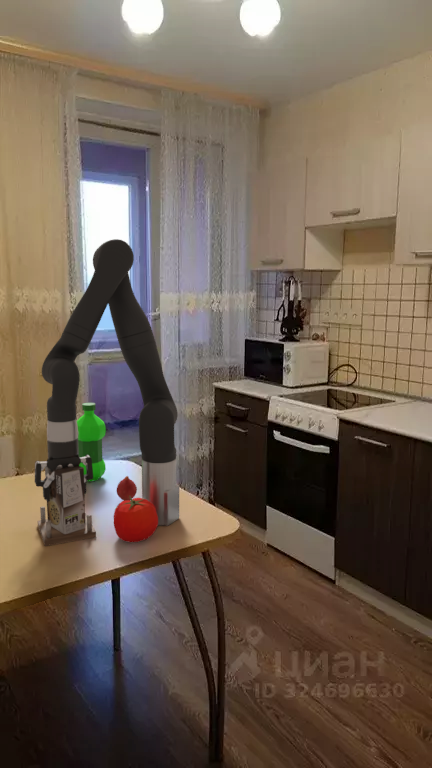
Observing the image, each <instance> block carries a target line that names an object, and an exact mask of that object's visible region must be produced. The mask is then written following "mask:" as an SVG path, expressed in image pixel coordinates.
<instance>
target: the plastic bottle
mask: <svg viewBox="0 0 432 768" xmlns="http://www.w3.org/2000/svg"><path fill="white" fill-rule="evenodd" d="M81 405H82V406H81V408H82V411H83V413H84V414H82V416H80V417H79V418H78V419H77V426H78V449H79V457H85V456H86V455H89V456H90V457H91V459H92V468H93V479H91V480H88V481H87V482H95V481H96V482H97V481H98V480H99V479H100V478H101V477H102V476H103V475H104V474H105V473H106V470H107V469H106V462H105V460H104V459H103V438H104V437H105V436H106V432H107V430H106V424H105V421H104V420H103V419H101V418H100V417H99V416H97V415H96V414H95V411H96V410H97V409H96V403H95V402H84V403H82V404H81ZM79 466H80V467H83V468H84V475H86V474H87V473H86V465H84V464H83V462H81V463H80V465H79Z"/></svg>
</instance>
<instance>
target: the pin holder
mask: <svg viewBox="0 0 432 768" xmlns="http://www.w3.org/2000/svg"><path fill="white" fill-rule="evenodd" d="M92 516H93V515H92V514H86V512H85V524H86V528H85V529H81V530H78V531H75V532H71V533H68V534H63V533H61V532H60V531H58V530H56V529H55V528H53V527H52V526H51V521H48V518H46V506H41V507H40V520H37V528H38V531H39V533H40V536H41V539H42V542H43V545H44V547H46V546H47V547H48V546H52V545H59V544H65V543H66V544H67V543H70V542H76V541H82V540H83V541H84V540H87V539H94V538H97V531H96V529H95V527H94V526H93V517H92Z"/></svg>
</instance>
